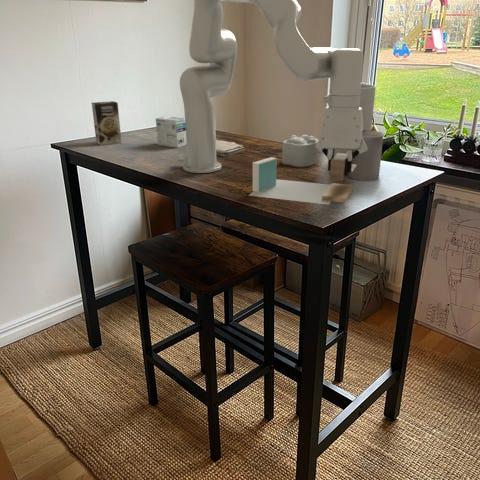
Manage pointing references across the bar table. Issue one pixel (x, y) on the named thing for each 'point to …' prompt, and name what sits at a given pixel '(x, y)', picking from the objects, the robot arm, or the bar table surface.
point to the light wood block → (339, 167)
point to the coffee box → (106, 122)
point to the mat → (295, 191)
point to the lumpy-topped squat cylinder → (300, 151)
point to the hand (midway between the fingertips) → (339, 173)
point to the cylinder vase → (365, 109)
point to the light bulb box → (171, 131)
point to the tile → (264, 174)
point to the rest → (337, 192)
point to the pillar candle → (368, 158)
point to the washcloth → (228, 148)
